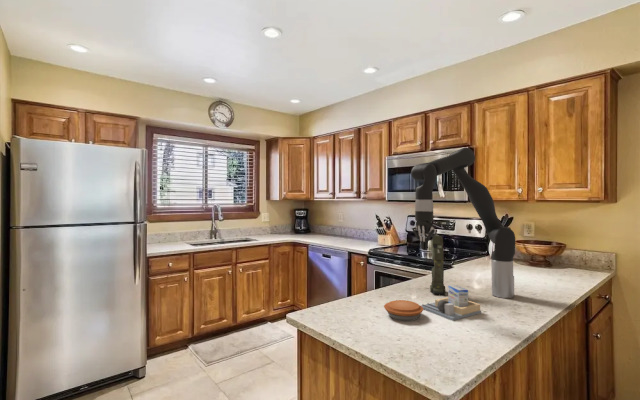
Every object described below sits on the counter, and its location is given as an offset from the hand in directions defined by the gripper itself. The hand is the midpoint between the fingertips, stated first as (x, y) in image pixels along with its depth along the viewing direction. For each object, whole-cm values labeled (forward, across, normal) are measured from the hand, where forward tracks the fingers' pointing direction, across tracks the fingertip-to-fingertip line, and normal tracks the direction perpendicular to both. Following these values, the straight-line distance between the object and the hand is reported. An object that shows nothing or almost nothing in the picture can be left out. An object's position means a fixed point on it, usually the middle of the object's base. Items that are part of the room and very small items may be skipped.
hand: (424, 249), depth 142 cm
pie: (+25, +3, -15) cm, 30 cm away
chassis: (+25, +8, +6) cm, 27 cm away
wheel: (+24, +10, 0) cm, 26 cm away
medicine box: (+24, +10, +9) cm, 28 cm away
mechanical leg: (+25, -14, +23) cm, 37 cm away
